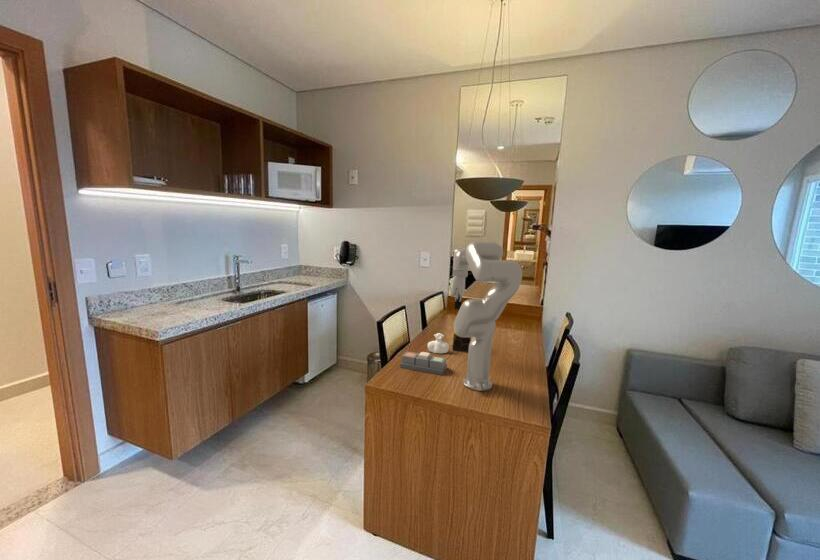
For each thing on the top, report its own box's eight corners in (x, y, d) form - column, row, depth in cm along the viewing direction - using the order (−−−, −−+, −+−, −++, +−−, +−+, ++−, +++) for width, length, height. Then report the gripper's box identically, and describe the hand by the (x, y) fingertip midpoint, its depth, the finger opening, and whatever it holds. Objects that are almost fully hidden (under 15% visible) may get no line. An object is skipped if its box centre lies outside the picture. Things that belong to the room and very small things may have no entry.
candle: (470, 352, 185) (471, 335, 183) (452, 350, 186) (453, 333, 185) (470, 346, 194) (471, 330, 193) (453, 344, 196) (454, 328, 195)
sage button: (443, 364, 161) (443, 358, 161) (441, 367, 157) (441, 361, 157) (434, 362, 163) (434, 356, 162) (432, 366, 159) (432, 360, 158)
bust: (448, 356, 184) (450, 337, 189) (448, 352, 177) (450, 332, 183) (427, 354, 186) (429, 335, 191) (426, 350, 179) (428, 330, 185)
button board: (446, 367, 163) (447, 357, 162) (442, 375, 155) (442, 363, 154) (406, 360, 170) (407, 350, 169) (400, 367, 162) (400, 356, 161)
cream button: (429, 359, 163) (429, 353, 163) (426, 362, 159) (427, 356, 159) (421, 357, 165) (421, 351, 164) (418, 360, 161) (418, 354, 160)
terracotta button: (415, 359, 166) (416, 353, 165) (413, 362, 162) (413, 356, 161) (407, 358, 167) (407, 352, 167) (404, 361, 163) (404, 355, 163)
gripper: (455, 271, 176) (453, 305, 179) (449, 274, 162) (447, 311, 165) (470, 272, 173) (467, 306, 176) (464, 275, 159) (462, 313, 162)
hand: (458, 308), depth 170 cm, fingers closed
